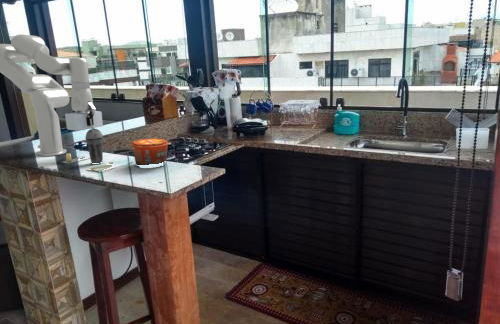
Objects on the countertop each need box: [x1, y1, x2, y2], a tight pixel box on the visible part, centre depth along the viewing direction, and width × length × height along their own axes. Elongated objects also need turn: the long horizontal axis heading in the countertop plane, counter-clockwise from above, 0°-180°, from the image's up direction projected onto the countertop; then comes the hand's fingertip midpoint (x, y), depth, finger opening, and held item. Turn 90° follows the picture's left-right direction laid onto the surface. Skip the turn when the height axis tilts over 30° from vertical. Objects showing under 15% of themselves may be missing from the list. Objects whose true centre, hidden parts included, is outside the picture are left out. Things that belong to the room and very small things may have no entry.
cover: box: [64, 110, 104, 132], centre depth 170 cm, size 7×14×7 cm, turn 150°
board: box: [86, 160, 114, 171], centre depth 158 cm, size 8×18×1 cm, turn 153°
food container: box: [130, 137, 170, 165], centre depth 160 cm, size 16×16×11 cm
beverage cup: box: [85, 119, 104, 164], centre depth 161 cm, size 7×7×20 cm
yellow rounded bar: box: [60, 152, 86, 165], centre depth 168 cm, size 5×12×4 cm, turn 153°
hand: (85, 124), depth 170 cm, fingers closed on cover, 7 cm apart
